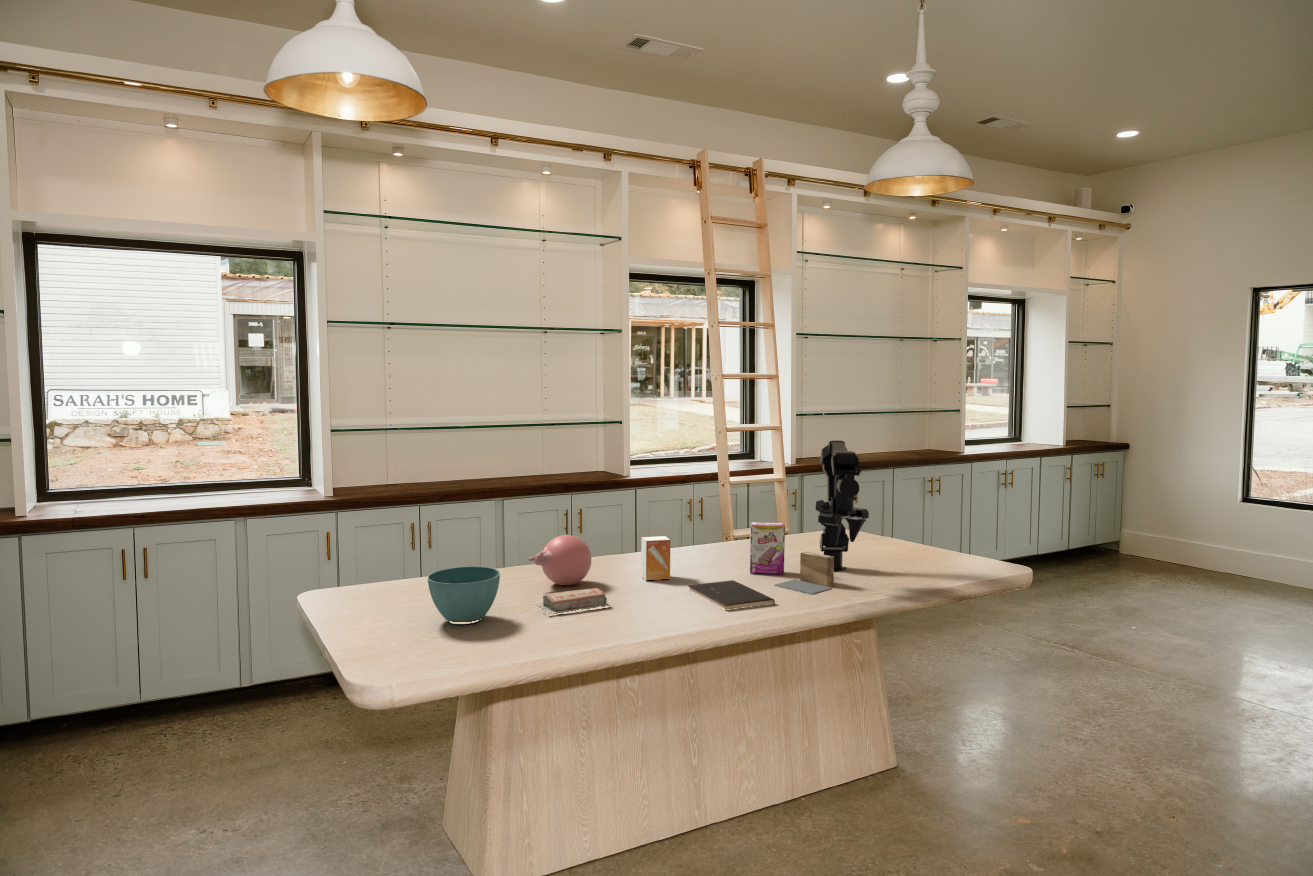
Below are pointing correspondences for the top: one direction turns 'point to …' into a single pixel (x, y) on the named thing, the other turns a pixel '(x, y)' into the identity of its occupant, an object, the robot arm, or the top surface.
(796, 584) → the grey rubber mat
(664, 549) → the small box
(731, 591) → the hardcover book
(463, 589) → the teal bowl
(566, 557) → the balloon
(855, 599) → the top surface
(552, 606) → the packaged product
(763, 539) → the candy bar box
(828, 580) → the walnut slab
